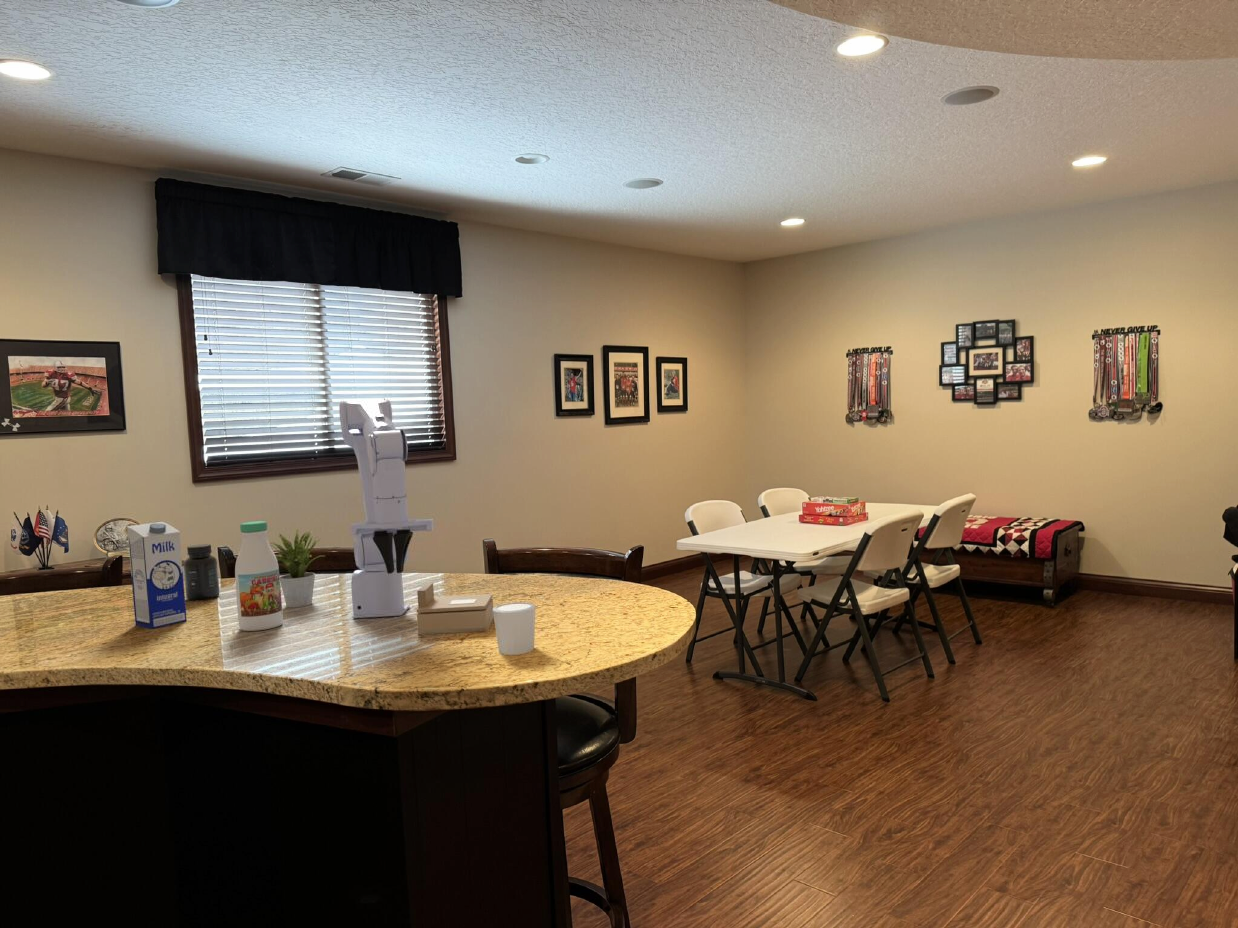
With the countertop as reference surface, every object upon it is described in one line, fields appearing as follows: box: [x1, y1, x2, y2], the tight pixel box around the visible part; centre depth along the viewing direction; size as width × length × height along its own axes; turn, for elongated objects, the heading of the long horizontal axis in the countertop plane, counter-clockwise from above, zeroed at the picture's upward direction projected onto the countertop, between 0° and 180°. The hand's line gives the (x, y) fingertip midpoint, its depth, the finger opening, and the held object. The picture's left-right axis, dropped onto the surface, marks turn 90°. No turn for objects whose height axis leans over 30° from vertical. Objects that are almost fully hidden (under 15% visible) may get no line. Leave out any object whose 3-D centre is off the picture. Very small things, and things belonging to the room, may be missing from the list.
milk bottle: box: [234, 520, 284, 632], centre depth 158 cm, size 8×8×20 cm
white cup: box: [493, 602, 536, 656], centre depth 133 cm, size 7×7×7 cm
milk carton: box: [126, 521, 188, 630], centre depth 165 cm, size 7×7×20 cm
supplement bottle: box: [183, 543, 220, 602], centre depth 189 cm, size 7×7×12 cm
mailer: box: [416, 598, 494, 636], centre depth 151 cm, size 12×10×4 cm
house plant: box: [268, 529, 328, 608], centre depth 178 cm, size 14×14×16 cm
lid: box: [416, 582, 494, 614], centre depth 151 cm, size 12×10×4 cm
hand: (395, 572), depth 150 cm, fingers closed
